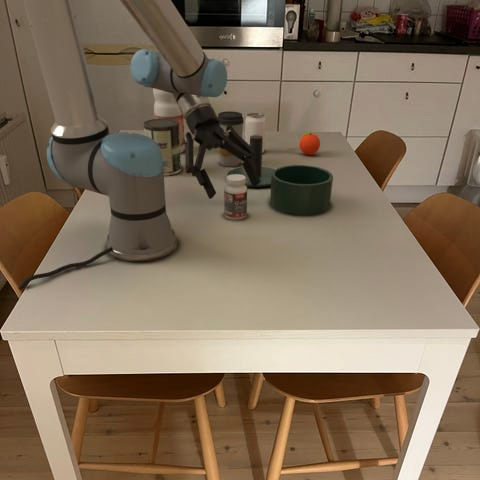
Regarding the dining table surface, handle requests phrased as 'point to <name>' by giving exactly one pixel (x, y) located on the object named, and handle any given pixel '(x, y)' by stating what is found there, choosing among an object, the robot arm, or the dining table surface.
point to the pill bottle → (235, 197)
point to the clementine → (309, 143)
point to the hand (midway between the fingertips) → (235, 190)
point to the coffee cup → (224, 121)
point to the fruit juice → (169, 111)
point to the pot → (301, 190)
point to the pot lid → (256, 165)
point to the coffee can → (166, 142)
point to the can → (255, 127)
